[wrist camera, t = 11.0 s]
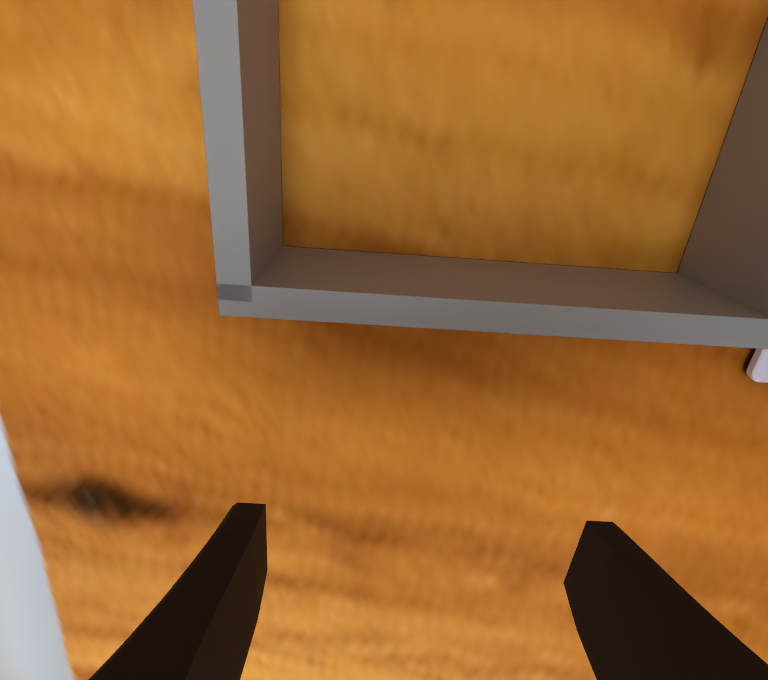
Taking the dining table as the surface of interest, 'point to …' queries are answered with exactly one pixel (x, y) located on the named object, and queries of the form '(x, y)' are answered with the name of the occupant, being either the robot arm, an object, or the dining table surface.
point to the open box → (458, 275)
